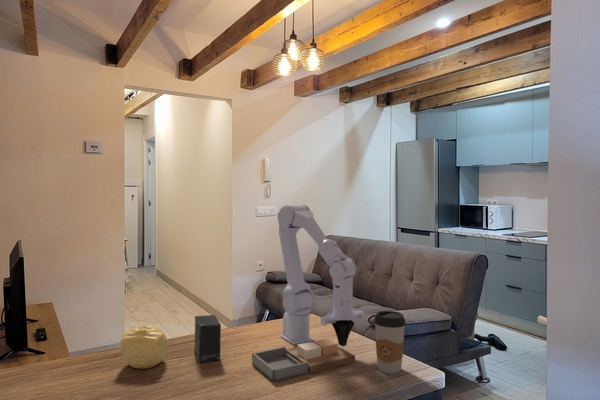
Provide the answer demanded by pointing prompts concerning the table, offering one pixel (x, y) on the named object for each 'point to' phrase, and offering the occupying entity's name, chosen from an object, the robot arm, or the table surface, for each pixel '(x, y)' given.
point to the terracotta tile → (326, 346)
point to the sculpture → (144, 346)
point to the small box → (207, 338)
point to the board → (324, 360)
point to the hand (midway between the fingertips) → (342, 345)
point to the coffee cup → (389, 340)
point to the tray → (278, 364)
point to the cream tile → (309, 350)
